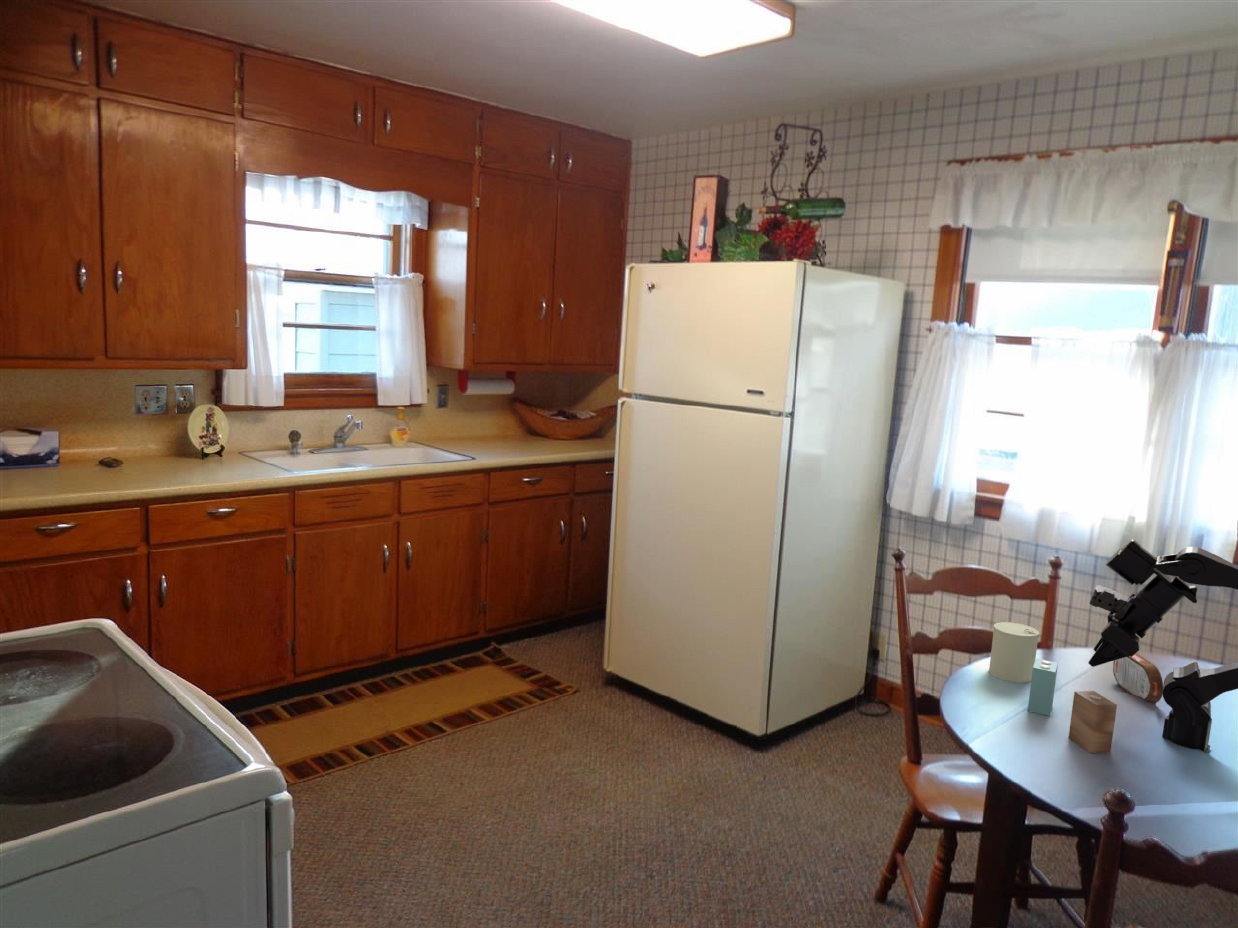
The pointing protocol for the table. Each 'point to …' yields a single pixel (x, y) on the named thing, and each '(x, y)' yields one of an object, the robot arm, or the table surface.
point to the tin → (1139, 677)
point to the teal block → (1042, 687)
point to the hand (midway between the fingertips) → (1093, 657)
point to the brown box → (1092, 721)
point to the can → (1013, 651)
